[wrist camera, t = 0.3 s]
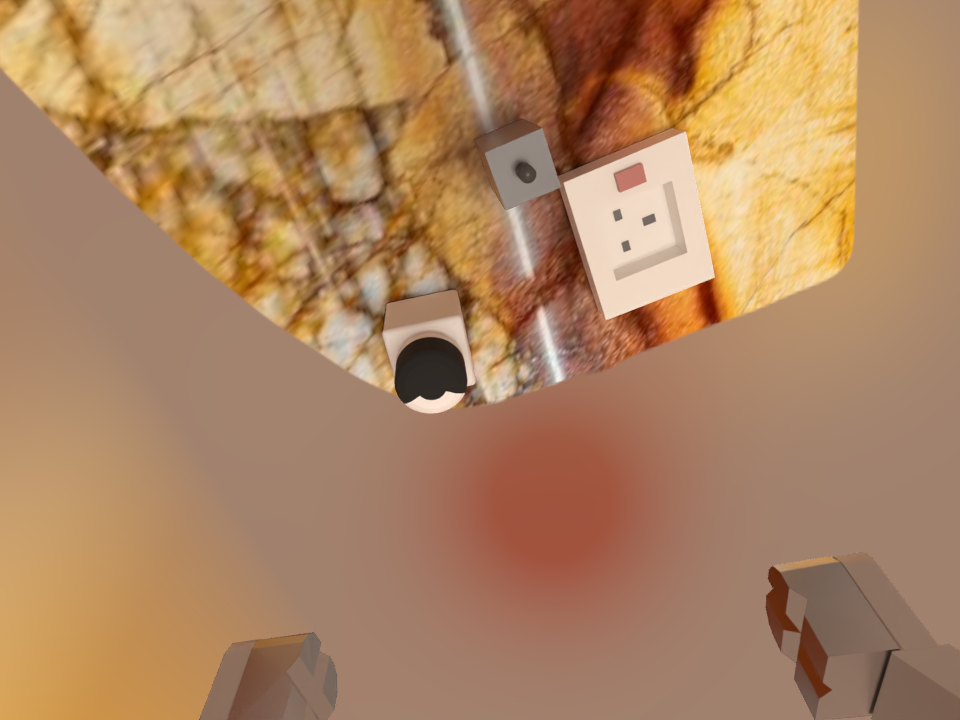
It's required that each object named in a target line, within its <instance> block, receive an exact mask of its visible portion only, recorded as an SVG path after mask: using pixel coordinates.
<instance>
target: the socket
mask: <svg viewBox="0 0 960 720" xmlns="http://www.w3.org/2000/svg"><path fill="white" fill-rule="evenodd" d="M558 180H559V183H560V186H561V188H559V189H560V192H561V195H562V198H563V202H564V205H565V208H566V211H567V214H568V217H569V221H570V224H571V227H572V230H573V233H574V236H575V240H576V243H577V246H578V249H579V252H580V255H581V259H582V262H583V265H584V268H585V271H586V274H587V278H588V281H589V284H590V287H591V290H592V293H593V296H594V300H595V303H596V306H597V309H598V310H599V312H600V313H601V314H602V316H603V317H604V318H605V320H608V319H611V318H613V317H616V316H618V315H621V314H623V313H626V312H628V311H631V310H633V309H636V308H639V307H641V306H644V305H646V304H649V303H651V302H654V301H656V300H659V299H661V298H664V297H666V296H669V295H671V294H674V293H676V292H679V291H682V290H684V289H687V288H689V287H692V286H694V285H697V284H699V283H702V282H704V281H707V280H709V279H712V278H714V277H715V276H714V271H713V265H712V260H711V255H710V250H709V245H708V240H707V235H706V230H705V225H704V220H703V215H702V210H701V205H700V200H699V195H698V190H697V185H696V180H695V175H694V170H693V165H692V160H691V155H690V150H689V145H688V140H687V135H686V131H682V130H678V129H673V128H671V129H669V130H666V131H664V132H661V133H659V134H657V135H654V136H652V137H650V138H647V139H645V140H642V141H640V142H638V143H635V144H633V145H631V146H628V147H626V148H623V149H621V150H619V151H616V152H614V153H612V154H609V155H607V156H605V157H602V158H600V159H597V160H595V161H593V162H590V163H588V164H586V165H583V166H581V167H578V168H576V169H574V170H571V171H569V172H567V173H564V174H562V175H559V176H558Z"/></svg>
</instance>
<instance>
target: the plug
mask: <svg viewBox="0 0 960 720" xmlns="http://www.w3.org/2000/svg"><path fill="white" fill-rule="evenodd" d="M474 142H475V145H476V147H477V150H478V153H479V155H480V158H481V161H482V163H483V166H484V169H485V171H486V174H487V177H488V180H489V182H490V185H491V188H492V190H493V191H494V193H495V194H496V196H497V198H498V199H499V201H500V202H501V204H502V205H503V207H504V209H505V210H508V209H511V208H513V207H515V206H518V205H520V204H523V203H525V202H527V201H530V200H532V199H534V198H537V197H539V196H542V195H544V194H546V193H549V192H551V191H554V190H556V189H558V188H561V186H560V183H559V180H558V176H557V173H556V170H555V167H554V164H553V161H552V157H551V154H550V151H549V148H548V145H547V141H546V138H545V135H544V132H543V129H542V128H541V127H539V126H537V125H535V124H532V123H530V122H528V121H526V120H524V119H520V120H518V121H515V122H513V123H511V124H509V125H506V126H504V127H502V128H499V129H497V130H495V131H492V132H490V133H488V134H485V135H483V136H481V137H479V138H476V139H474Z"/></svg>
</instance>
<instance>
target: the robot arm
mask: <svg viewBox="0 0 960 720" xmlns="http://www.w3.org/2000/svg"><path fill="white" fill-rule="evenodd" d="M768 580H769V582H770V584H771V586H772V588H773V589H772V590H771V591H770V592H769V593H768V594H767V595H766V612H767V617H768V622H769V625H770V628H771V631H772V634H773V636H774V638H775V641H776V643H777V645H778V647H779V649H780V651H781V652H782V653H783V654H784V655H786V656H787V657H788V658H790V659H791V660H792V661H794V662H795V663H796V668H795V676H794V680H795V682H796V684H797V686H798V688H799V690H800V692H801V694H802V696H803V698H804V700H805V702H806V704H807V706H808V708H809V710H810V712H811V714H812V716H813V718H814V720H830V719H840V718H852V717H862V716H872V717H871V719H872V720H960V650H958V649H957V648H955V647H953V646H952V645H950V644H945V645H939V644H938V643H937V641H936V640H935V639H934V638H933V636H932V635H931V634H930V632H929V631H928V630H927V628H926V627H925V626H924V624H923V623H922V622H921V620H920V619H919V618H918V616H917V615H916V614H915V612H914V611H913V610H912V609H911V607H910V606H909V604H908V603H907V602H906V601H905V599H904V598H903V597H902V595H901V594H900V593H899V591H898V590H897V589H896V587H895V586H894V585H893V583H892V582H891V581H890V579H889V578H888V577H887V576H886V574H885V573H884V571H883V570H882V569H881V567H880V566H879V565H878V564H877V562H876V561H875V560H874V558H873V557H871V556H870V555H868V554H867V553H862V552H859V553H853V554H848V555H841V556H835V557H830V556H829V557H823V558H816V559H810V560H805V561H798V562H792V563H786V564H779V565H773V566H772V567H771V568H770V569H769V573H768ZM320 646H321V641H320V640H319V638H318V637H317V635H316V634H315V633H314V632H312V633H305V634H297V635H291V636H283V637H275V638H268V639H258V640H250V641H244V642H237V643H232V645H231V646H230V647H229V648H228V650H227V651H226V652H225V654H224V656H223V659H222V662H221V664H220V667H219V669H218V672H217V675H216V677H215V680H214V682H213V685H212V688H211V690H210V693H209V695H208V698H207V701H206V703H205V706H204V708H203V711H202V714H201V716H200V719H199V720H327V719H328V718H329V717H330V715H331V714H332V713H333V711H334V708H335V702H336V697H337V673H336V669H335V665H334V663H333V661H332V659H331V658H330V656H328V655H326V654H324V653H322V652H320V651H319V650H320Z"/></svg>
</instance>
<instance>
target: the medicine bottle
mask: <svg viewBox="0 0 960 720" xmlns="http://www.w3.org/2000/svg"><path fill="white" fill-rule="evenodd" d="M382 336H383V340H384V343H385V346H386V350H387V353H388V356H389V360H390V363H391V367H392V370H393V373H394V377H395V389H396V392H397V394H398V396H399V398H400V399H401V401H402V402H403V403H404V404H405V405H407V406H408V407H410V408H411V409H413V410H415V411H419V412H422V413H438V412H443V411H446V410H448V409H450V408H452V407H453V406H455V405H456V404H457V403H458V402H459V401H460V400H461V399H462V397H463V396H464V394H465V392H466V389H467V386H470V385H474V384H475V382H476V379H475V374H474V368H473V363H472V358H471V352H470V347H469V343H468V338H467V334H466V329H465V324H464V320H463V315H462V311H461V306H460V301H459V297H458V292H457V291H456V290H448V291H444V292H439V293H434V294H429V295H425V296H420V297H415V298H410V299H406V300H401V301H396V302H391V303H388V304H387V305H386V308H385V315H384V323H383V330H382Z"/></svg>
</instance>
